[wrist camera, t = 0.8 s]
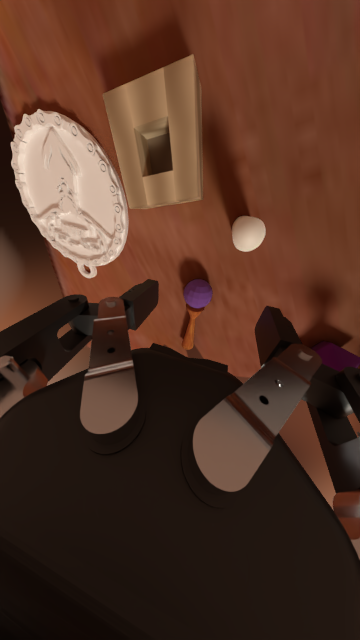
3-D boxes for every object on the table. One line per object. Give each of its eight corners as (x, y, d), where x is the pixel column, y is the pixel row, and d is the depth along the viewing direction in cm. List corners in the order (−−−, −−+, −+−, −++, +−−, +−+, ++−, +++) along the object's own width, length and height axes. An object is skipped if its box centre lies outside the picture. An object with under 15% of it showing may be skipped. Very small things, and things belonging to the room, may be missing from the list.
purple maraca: (173, 347, 42) (180, 282, 28) (182, 334, 46) (192, 271, 33) (192, 357, 40) (210, 292, 27) (200, 342, 44) (218, 279, 31)
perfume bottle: (323, 332, 32) (397, 427, 18) (353, 348, 32) (450, 454, 18) (293, 352, 37) (333, 439, 22) (320, 365, 37) (376, 461, 23)
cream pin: (253, 214, 24) (268, 215, 15) (250, 236, 26) (262, 250, 16) (232, 217, 25) (234, 219, 16) (231, 238, 27) (231, 252, 17)
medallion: (127, 128, 23) (118, 120, 21) (131, 288, 39) (126, 292, 37) (0, 104, 25) (-19, 96, 23) (54, 264, 42) (45, 267, 40)
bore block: (201, 87, 19) (193, 54, 15) (203, 199, 25) (197, 197, 21) (125, 115, 22) (102, 93, 18) (143, 209, 28) (129, 208, 24)
